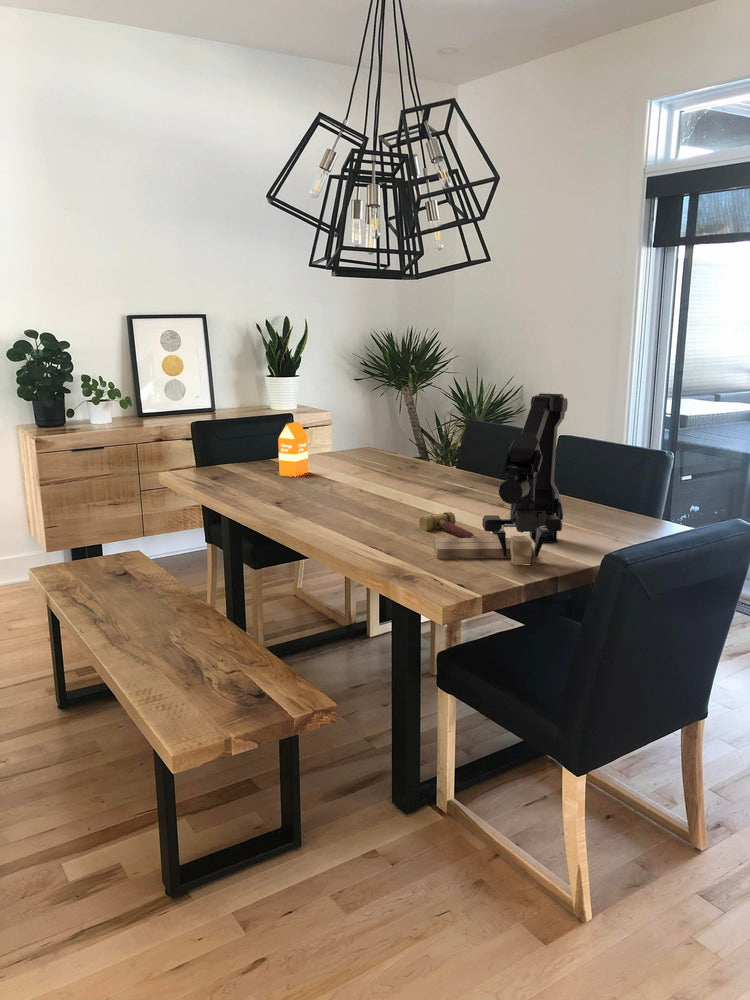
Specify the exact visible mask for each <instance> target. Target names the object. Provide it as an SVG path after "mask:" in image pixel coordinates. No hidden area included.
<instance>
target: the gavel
mask: <svg viewBox="0 0 750 1000" xmlns="http://www.w3.org/2000/svg"><path fill="white" fill-rule="evenodd" d="M418 525H419V528H420V530H421V531H423V530H424V531H423V532H428V531H429V530H430V531H432V530H437V529H443V530H444V531H446V532H447V533H450V534H452V535H454V536H456V537H457V538H477V536H475V534H474V533H473V532H470V531H469V530H466V529H464V528H462V527H460V526H458V525H456V517H455V514H454V512H452V511H445V512H443V513H440V514H434V515H433V514H432V515H429V514H426V515H421V516H420V517H419V518H418Z"/></svg>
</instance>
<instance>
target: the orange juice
mask: <svg viewBox="0 0 750 1000" xmlns="http://www.w3.org/2000/svg"><path fill="white" fill-rule="evenodd" d="M278 463H279V464H278V466H279V467H278V468H279V469H278V470H279V476H283V477H284V476H285V477H292V476H294V478H295V477H296V476H297V477H300V476H303V475H305V474H304V473H307V472H308V473H309V449H308V435H307V433H306V431H305V430H304V428H303V426H302V425H301V423H300V421H293V422H290V423H286V424H285V426H284V427H283V429H282V431H281V433H280V435H279V437H278ZM308 473H307V474H308ZM302 474H303V475H302ZM299 475H300V476H299Z"/></svg>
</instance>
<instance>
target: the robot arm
mask: <svg viewBox="0 0 750 1000" xmlns="http://www.w3.org/2000/svg"><path fill="white" fill-rule="evenodd" d="M568 403H569V402H568V398H567V397H565V396H564V394H563V393H547V392H546V393H543V392H540V393H539V394H537V395H534V396H531V400H530V408H529V411H528V414H527V417H526V419H525V422H524V425H523V429H522V431H521V434H520V435H519V436H518V437H516V438H514V439H513V440H512V443H511V445H510V447H509V448H508V449H507V451H506V456H505V459H504V460H505V461H504V463H503V464H504V465H503V470H502V474H504V475H507V479H506V480H504V481H503V482H502V483H501V484H500V486H499V488H498V495H499V497H500V499H501V500H502V501H503V502H505V503H506V504H508V505H510V514H509V515H510V516H509V518H505V519H503V518H502V519H501V517H500V516H499V515H495V514H494V515H493V514H492V515H491V514H490V515H487V514H486V515H484V516H483V517H482V523H481V525H482V527H483V529H484V531H485V532H488V533H490V532H492V534H493V535H496V536H497V538H499V541H500V544H501V547H502V551H503V554H504V557H506V554H507V550H506V539H505V538H506V535H507V534H506V531H505V528H513V527H514V528H516V531H517V532H519V533H525V532H527V533H529V537H530V538H531V539H532V541H533V543H534V556H535V558H538V556H539V553H540V551H541V548H542V546H543V543H559V540H558V538H557V537H558V532H561V531H563V522H562V520H564V508H563V504H562V501H561V498H560V491H559V489H558V487H557V485H556V483H555V481H554V480H555V471H556V470H555V468H556V455H557V453H556V452H557V440H558V439H557V437H558V427H559V426H560V424H561V423H562V421H564V420H565V414H566V412H567V411H568V405H569V404H568Z"/></svg>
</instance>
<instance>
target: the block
mask: <svg viewBox="0 0 750 1000" xmlns="http://www.w3.org/2000/svg"><path fill="white" fill-rule="evenodd" d="M510 538H511V555H510V558H511V559H510V558H509V559H510V561H511V562H512V561H513V562H512V564H513V563H514V564H513V566H514V565H522V564H531V565H532V558H531V547H532V541H531V539H530V538H529V536H528V535H511V536H510Z"/></svg>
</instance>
